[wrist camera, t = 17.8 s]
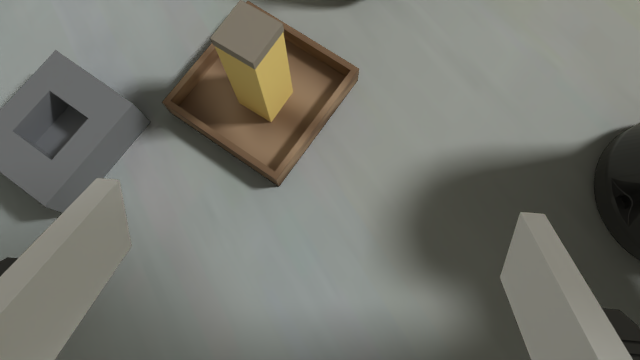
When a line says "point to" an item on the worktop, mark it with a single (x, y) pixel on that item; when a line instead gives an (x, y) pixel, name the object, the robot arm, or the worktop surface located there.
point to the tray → (250, 128)
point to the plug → (255, 59)
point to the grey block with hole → (64, 132)
